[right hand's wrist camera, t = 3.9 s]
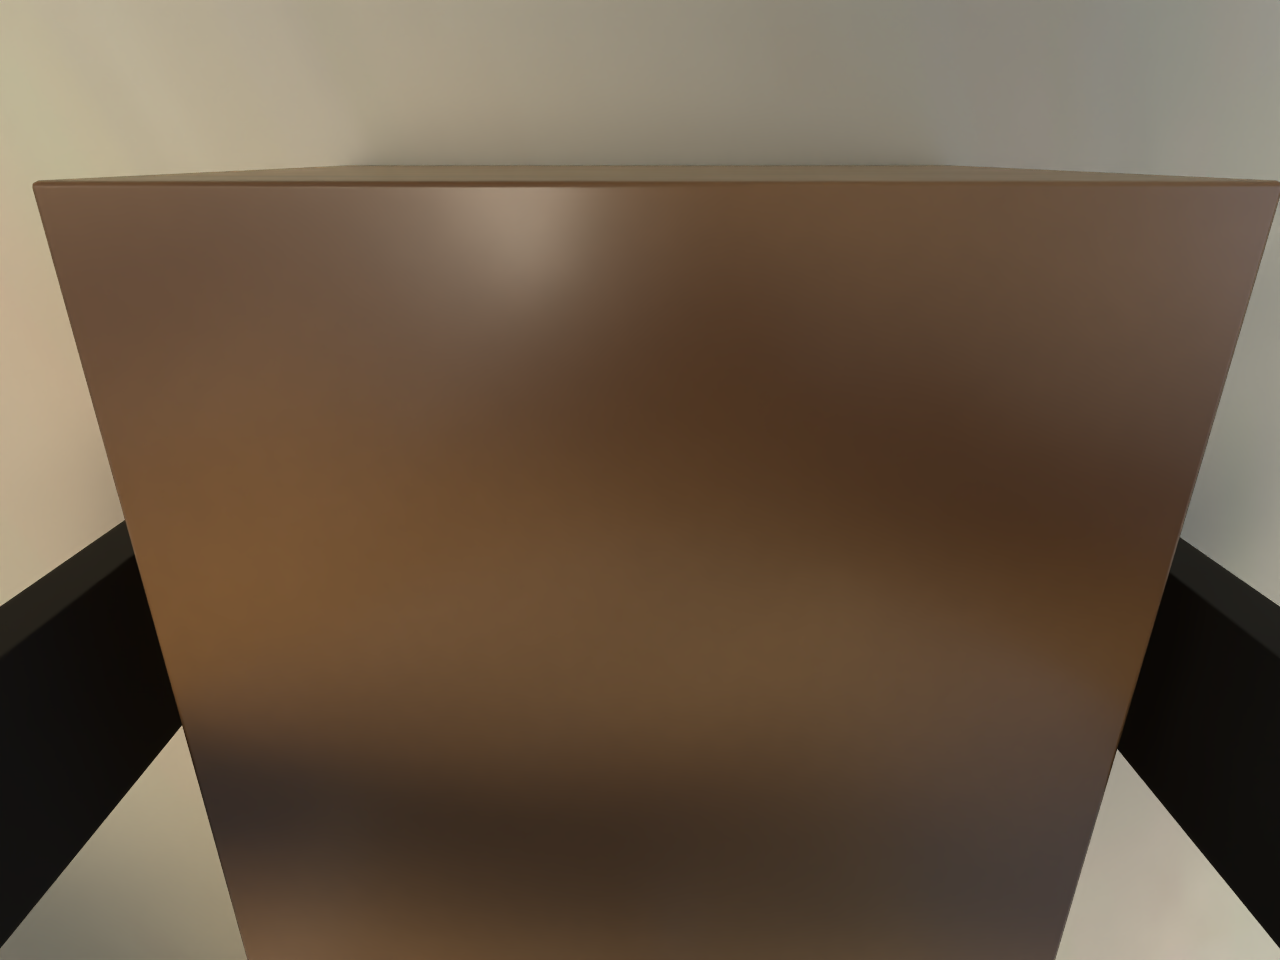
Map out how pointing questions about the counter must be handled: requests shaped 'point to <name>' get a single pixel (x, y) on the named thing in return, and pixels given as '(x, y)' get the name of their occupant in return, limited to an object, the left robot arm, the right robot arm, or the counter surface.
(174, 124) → the counter surface
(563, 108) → the counter surface
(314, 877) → the thick board
